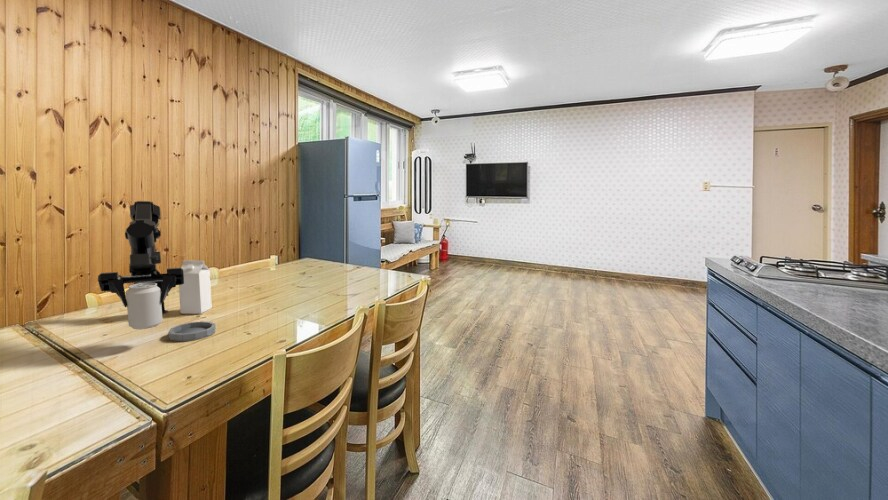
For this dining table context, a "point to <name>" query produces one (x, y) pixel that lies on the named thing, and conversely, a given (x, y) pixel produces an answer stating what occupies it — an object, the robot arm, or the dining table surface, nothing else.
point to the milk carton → (195, 288)
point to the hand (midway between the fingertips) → (144, 304)
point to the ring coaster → (192, 331)
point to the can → (144, 305)
